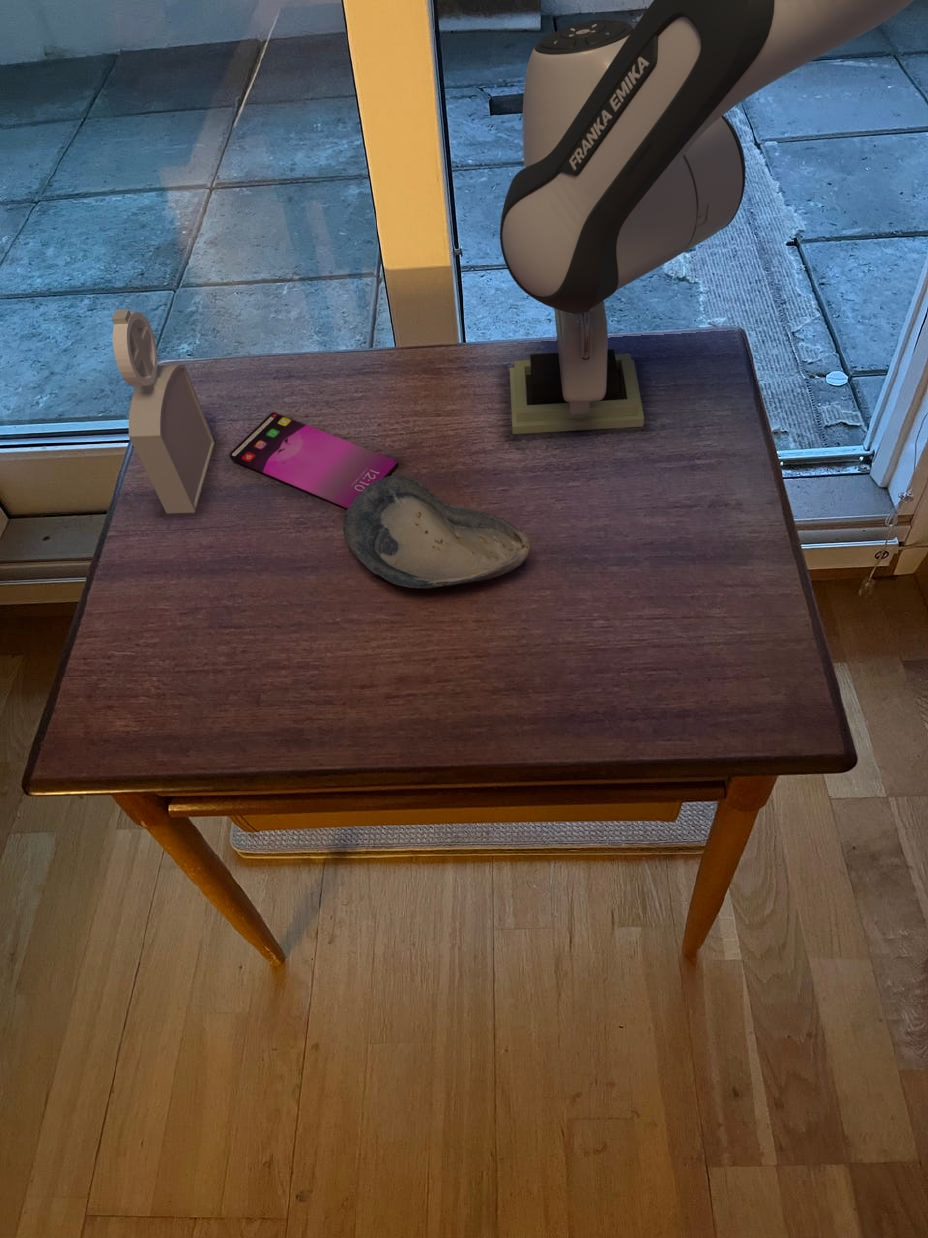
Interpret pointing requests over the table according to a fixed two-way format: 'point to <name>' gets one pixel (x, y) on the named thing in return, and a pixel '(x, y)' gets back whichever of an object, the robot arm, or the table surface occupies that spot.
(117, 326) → the gravestone
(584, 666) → the table surface
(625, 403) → the pad
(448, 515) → the seashell
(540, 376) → the black pad
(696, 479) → the table surface
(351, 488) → the smartphone
